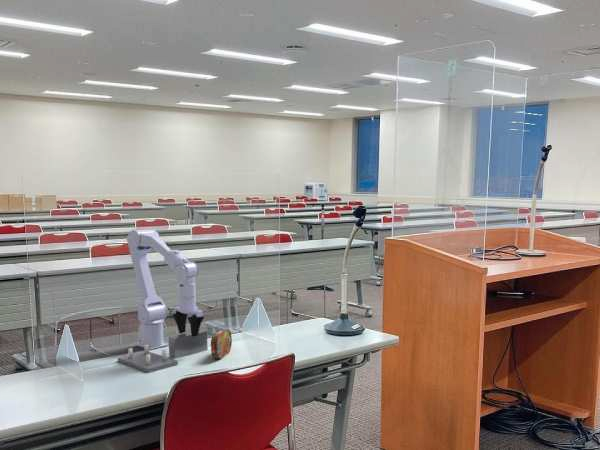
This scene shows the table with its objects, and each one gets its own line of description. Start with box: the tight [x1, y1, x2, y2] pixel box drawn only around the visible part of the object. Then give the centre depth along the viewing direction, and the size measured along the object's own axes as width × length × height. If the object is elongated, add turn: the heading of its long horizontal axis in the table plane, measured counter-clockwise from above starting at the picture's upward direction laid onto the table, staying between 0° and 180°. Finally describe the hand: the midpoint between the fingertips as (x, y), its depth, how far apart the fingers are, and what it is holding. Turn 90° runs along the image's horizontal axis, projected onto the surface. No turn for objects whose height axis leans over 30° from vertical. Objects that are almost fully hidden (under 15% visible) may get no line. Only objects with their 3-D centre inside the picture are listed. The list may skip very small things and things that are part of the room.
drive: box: [168, 329, 208, 359], centre depth 190 cm, size 4×14×7 cm, turn 138°
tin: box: [210, 328, 233, 360], centre depth 187 cm, size 15×3×8 cm, turn 168°
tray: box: [117, 345, 178, 374], centre depth 179 cm, size 19×11×4 cm, turn 48°
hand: (188, 334), depth 189 cm, fingers open, 7 cm apart
